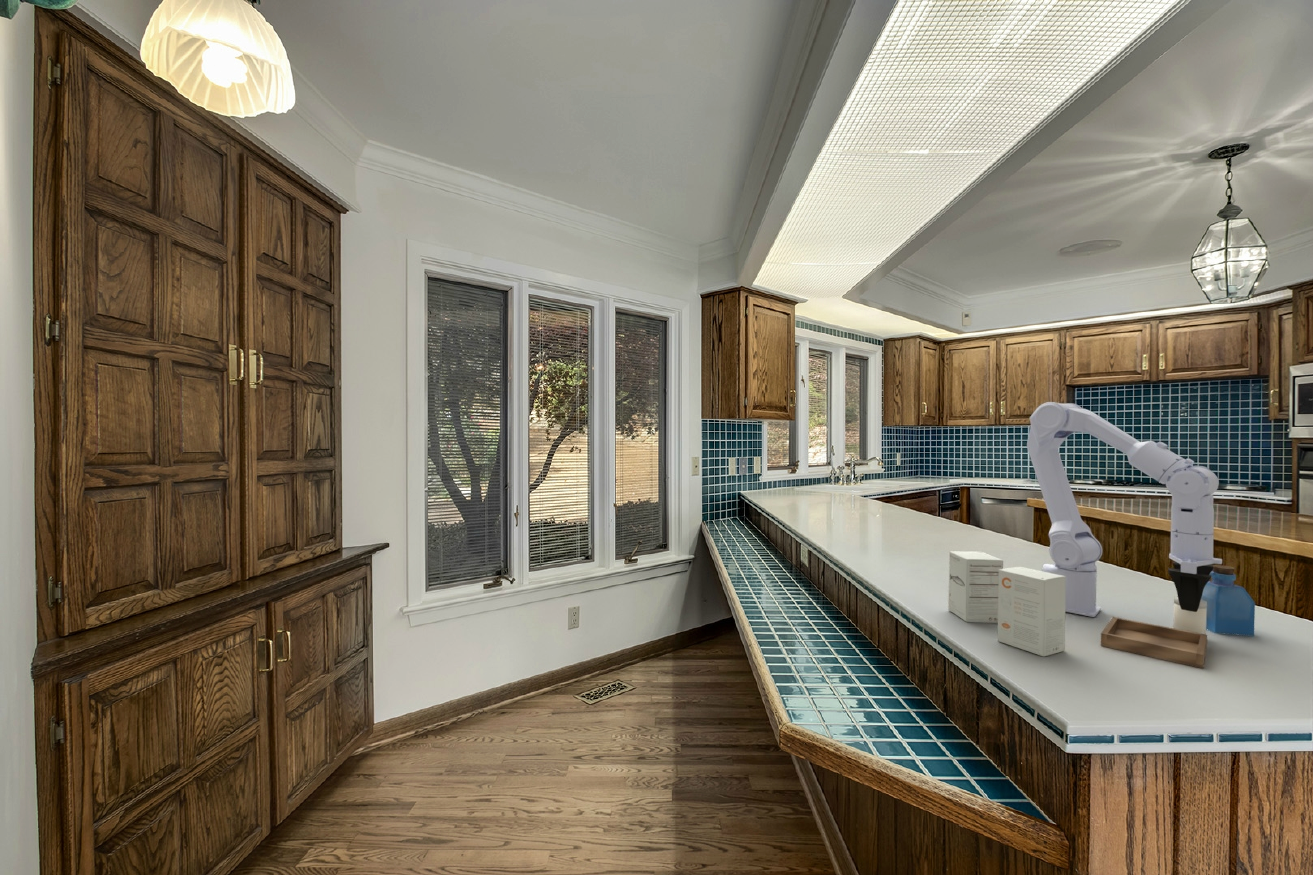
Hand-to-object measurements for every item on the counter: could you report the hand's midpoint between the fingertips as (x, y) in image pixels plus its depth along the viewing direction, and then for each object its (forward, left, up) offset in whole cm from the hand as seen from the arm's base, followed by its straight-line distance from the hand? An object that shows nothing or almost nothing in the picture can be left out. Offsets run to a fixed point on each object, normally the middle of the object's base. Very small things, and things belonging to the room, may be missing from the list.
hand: (1190, 605), depth 105 cm
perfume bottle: (+4, +11, -6) cm, 13 cm away
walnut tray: (-4, -11, -6) cm, 13 cm away
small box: (-19, -27, -6) cm, 34 cm away
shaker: (0, 0, -6) cm, 6 cm away
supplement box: (-31, -17, -6) cm, 36 cm away
